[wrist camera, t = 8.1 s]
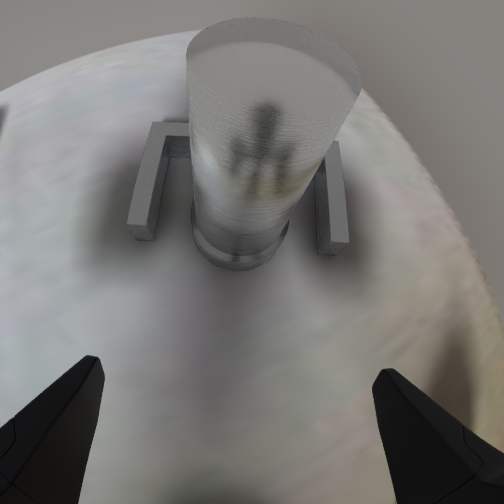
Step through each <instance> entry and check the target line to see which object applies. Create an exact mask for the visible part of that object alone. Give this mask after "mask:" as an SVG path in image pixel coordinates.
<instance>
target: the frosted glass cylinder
mask: <svg viewBox="0 0 504 504" xmlns="http://www.w3.org/2000/svg"><path fill="white" fill-rule="evenodd" d="M186 61H187V93H188V115H189V133H190V149H191V164H192V177H193V189H194V200H193V204H192V208H191V223H192V230H193V236H194V240H195V243H196V245H197V247H198V249H199V250H200V252H201V253H202V254H203V255H204V256H205V257H206V258H207V259H208V260H209V261H210V262H212V263H213V264H215V265H217V266H219V267H222V268H224V269H229V270H236V271H241V270H249V269H252V268H255V267H258V266H260V265H262V264H263V263H265V262H266V261H267V260H269V259H270V258H271V257H272V256H273V254H274V253H275V251H276V250H277V248H278V247H279V245H280V244H281V242H282V241H283V239H284V237H285V235H286V232H287V229H288V225H289V218H290V216H291V215H292V213H293V211H294V209H295V208H296V206H297V204H298V202H299V201H300V199H301V197H302V196H303V194H304V192H305V190H306V188H307V187H308V185H309V183H310V181H311V180H312V178H313V176H314V174H315V173H316V171H317V169H318V167H319V166H320V164H321V162H322V160H323V159H324V157H325V155H326V153H327V151H328V150H329V148H330V146H331V144H332V143H333V141H334V139H335V137H336V135H337V134H338V132H339V130H340V128H341V126H342V125H343V123H344V121H345V119H346V117H347V116H348V114H349V112H350V110H351V108H352V107H353V105H354V103H355V101H356V99H357V98H358V96H359V94H360V91H361V87H362V78H361V74H360V71H359V69H358V67H357V66H356V64H355V62H354V61H353V59H352V58H351V57H350V56H349V55H348V53H347V52H346V51H344V50H343V49H342V48H341V47H340V46H339V45H337V44H336V43H335V42H333V41H332V40H330V39H329V38H327V37H326V36H324V35H322V34H320V33H318V32H316V31H314V30H312V29H309V28H307V27H304V26H302V25H298V24H295V23H292V22H288V21H283V20H278V19H271V18H255V17H254V18H238V19H232V20H227V21H223V22H220V23H217V24H214V25H212V26H210V27H208V28H206V29H204V30H203V31H201V32H200V33H198V34H197V35H196V36H195V37H194V38H193V39H192V41H191V42H190V44H189V46H188V48H187V54H186Z"/></svg>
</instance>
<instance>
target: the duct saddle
mask: <svg viewBox="0 0 504 504" xmlns="http://www.w3.org/2000/svg"><path fill="white" fill-rule="evenodd" d="M170 157H181V158H191V149H190V133H189V123H177V122H153V123H152V126H151V129H150V132H149V136H148V139H147V142H146V146H145V149H144V153H143V156H142V160H141V164H140V167H139V171H138V175H137V179H136V183H135V187H134V191H133V196H132V200H131V204H130V209H129V213H128V218H127V223H126V224H127V226H128V228H129V229H130V231H131V232H132V234H133V236H134V237H135V239H137V240H150V241H154V235H155V229H156V223H157V218H158V212H159V206H160V201H161V196H162V191H163V186H164V181H165V176H166V171H167V167H168V162H169V158H170ZM314 188H315V205H316V227H317V254H321V255H333V256H334V255H335V254H337V253H338V252H339V251H340V250H342V249H343V248H344V247H345V246H346V245H348V244H349V230H348V218H347V208H346V198H345V188H344V180H343V172H342V164H341V157H340V149H339V143H338V141H333V143H332V144H331V146H330V148H329V150H328V151H327V153H326V155H325V157H324V159H323V160H322V162H321V164H320V166H319V167H318V169H317V171H316V173H315V174H314Z"/></svg>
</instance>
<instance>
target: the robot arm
mask: <svg viewBox="0 0 504 504" xmlns="http://www.w3.org/2000/svg"><path fill="white" fill-rule="evenodd" d="M104 381H105V375H104V371H103V368H102V365H101V361H100V359H99V358H98V357H96V356H90V355H87V356H85V357H83V358H82V359H81V360H80V361H79V362H77V363H76V364H75V365H74V366H73V367H71V368H70V369H69V370H68V371H67V372H65V373H64V374H63V375H62V376H61V377H59V378H58V379H57V380H56V381H55V382H53V383H52V384H51V385H50V386H49V387H48V388H46V389H45V390H44V391H43V392H42V393H40V394H39V395H38V396H37V397H36V398H35V399H33V400H32V401H31V402H30V403H29V404H28V405H26V406H25V407H24V408H23V409H22V410H21V411H19V412H18V413H17V414H16V415H15V416H14V418H11V419H10V420H9V421H8V422H7V423H6V424H4V425H3V426H2V427H1V428H0V504H78V502H79V497H80V492H81V487H82V483H83V478H84V474H85V469H86V465H87V461H88V457H89V452H90V448H91V445H92V441H93V437H94V433H95V430H96V426H97V422H98V416H99V410H100V404H101V398H102V392H103V387H104ZM372 393H373V399H374V404H375V410H376V416H377V423H378V428H379V432H380V436H381V439H382V443H383V447H384V451H385V455H386V459H387V463H388V467H389V471H390V475H391V479H392V483H393V488H394V492H395V497H396V501H397V504H504V453H503V452H501V451H499V450H498V449H496V448H495V447H493V446H492V445H490V444H489V443H487V442H486V441H484V440H483V439H481V438H480V437H478V436H477V435H476V434H475V433H473V432H472V431H471V430H469V429H468V428H467V427H466V426H464V425H462V423H461V422H459V421H458V420H457V419H456V418H454V417H453V416H452V415H451V414H449V413H448V412H447V411H446V410H444V409H443V408H442V407H441V406H439V405H438V404H437V403H436V402H434V401H433V400H432V399H431V398H430V397H428V396H427V395H426V394H425V393H423V392H422V391H421V390H420V389H418V388H417V387H416V386H415V385H413V384H412V383H411V382H410V381H408V380H407V379H406V378H405V377H403V376H402V375H401V374H400V373H399V372H397V371H396V370H395V369H393V368H387V369H382V370H381V371H380V373H379V374H378V376H377V378H376V380H375V382H374V383H373V386H372Z"/></svg>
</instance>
